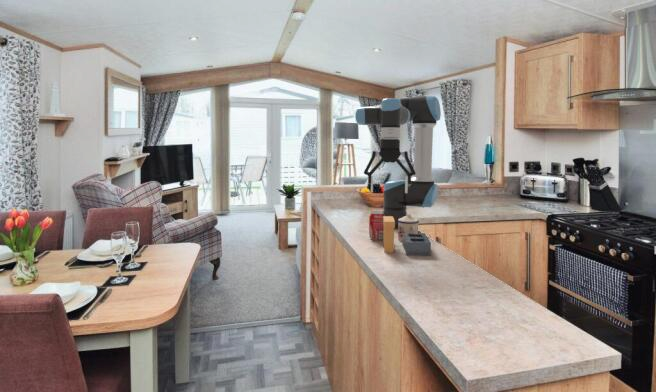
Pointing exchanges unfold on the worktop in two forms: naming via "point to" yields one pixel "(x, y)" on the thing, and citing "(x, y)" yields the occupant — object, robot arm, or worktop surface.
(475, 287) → the worktop surface
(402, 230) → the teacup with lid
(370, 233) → the soda can
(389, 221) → the peach eraser-shaped slab
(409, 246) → the gray slotted block
